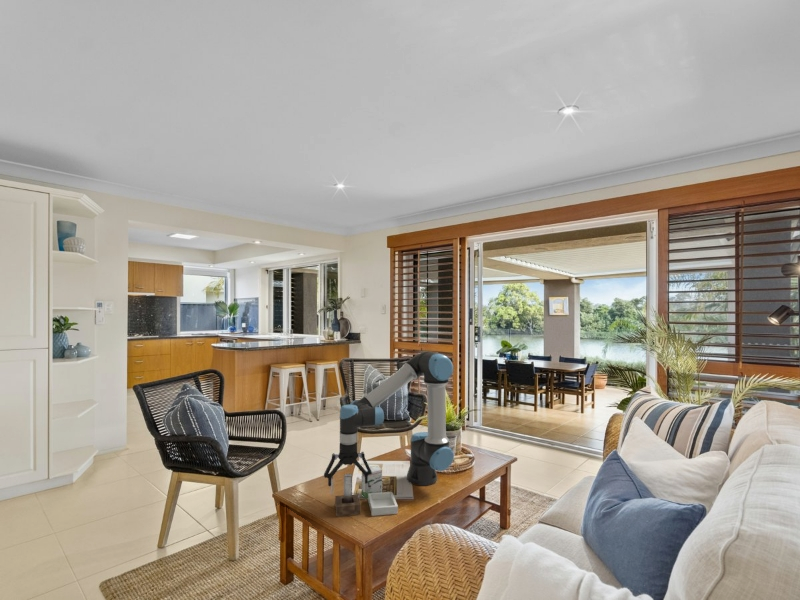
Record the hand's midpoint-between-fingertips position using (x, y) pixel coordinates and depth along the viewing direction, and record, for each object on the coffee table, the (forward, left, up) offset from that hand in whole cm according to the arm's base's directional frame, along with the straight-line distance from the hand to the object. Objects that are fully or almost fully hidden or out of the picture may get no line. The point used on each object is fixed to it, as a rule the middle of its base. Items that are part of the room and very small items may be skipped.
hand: (347, 492), depth 180 cm
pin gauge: (0, 0, -7) cm, 7 cm away
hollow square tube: (0, 0, -7) cm, 7 cm away
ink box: (-12, -13, -8) cm, 19 cm away
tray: (-15, 0, -7) cm, 17 cm away
